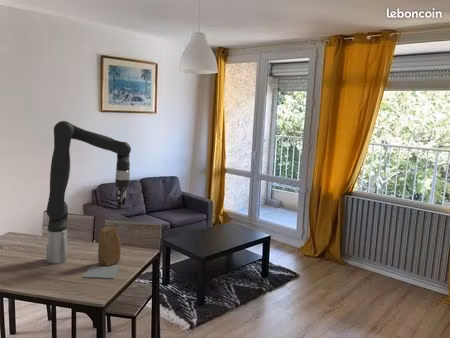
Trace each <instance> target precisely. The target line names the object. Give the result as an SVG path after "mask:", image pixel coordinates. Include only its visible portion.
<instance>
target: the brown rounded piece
mask: <svg viewBox="0 0 450 338" xmlns="http://www.w3.org/2000/svg"><path fill="white" fill-rule="evenodd" d="M117 231H118V228H117V227H116V226H112V225H111V226H106V227H101V228H99V235H98V242H97V243H98V244H97V245H98V249H97V258H98V262H99V264H100V265H101V266H103V267H112V266H114V265H115V264H118V263H119V261H120V259H121V249H122V248H121V247H122V244H121V239H120V237H119V234H118V232H117Z"/></svg>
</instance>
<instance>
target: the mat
mask: <svg viewBox="0 0 450 338" xmlns="http://www.w3.org/2000/svg"><path fill="white" fill-rule="evenodd" d="M120 269H121V267H120V266H103V265H101V266H100V265H99V266H98V265H91V266H89V268H88V269H87V270H86V272H85V273H84V275H82V278H83V279H107V280H110V279H111V280H113V279H115V278H116V276H117V274H118V272H119V271H120Z"/></svg>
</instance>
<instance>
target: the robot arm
mask: <svg viewBox="0 0 450 338" xmlns="http://www.w3.org/2000/svg"><path fill="white" fill-rule="evenodd" d="M53 139H54V140H53V152H52V157H51V163H50V174H49V195H48V201H47V204H46V205H47V206H46V215H47V216H48V225H47V244H46V245H45V246H46V263H50V264H61V263H64V262H66V261H67V260H68V259H67V258H68V254H67V253H68V252H67V251H68V249H67V248H68V247H67V246H68V242H67V241H68V239H67V238H68V236H67V235H68V233H67V232H68V227H67V225H68V219H69V218H68V216H69V215H68V212H69V211H68V210H69V209H68V204H67V202H66V201H65V199H66V198H65V197H66V190H67V187H68V184H69V183H68V182H69V179H70V172H71V156H70V155H71V154H70V153H71V152H70V148H71V141H72V140H76V141H80V142H83V143H86V144H88V145H90V146H93V147H96V148H100V149H101V150H105V151H110V152H113V153H114V154H116V169H115V177H114V179H115V181H114V183H115V184H114V186H115V187H116V188H118V189H117V190H116V195H115V202H116V203H117V204H116V209H120V210H121V209H122V206H125V205H126V198H127V197H128V188H129V187H130V177H131V173H130V172H131V171H130V168H131V167H130V153H131V151H132V147H131V145H130V144H129V143H128V142H127V141H120V140H117V139H114V138H112V137H109V136H107V135H103V134H100V133H96V132H92V131H89V130H86V129H84V128H80V127H78V126H76V125H75V124H72V123H71V122H69V121H66V120H61V121H58V122H57V123H56V124H55V125H54V127H53Z"/></svg>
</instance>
